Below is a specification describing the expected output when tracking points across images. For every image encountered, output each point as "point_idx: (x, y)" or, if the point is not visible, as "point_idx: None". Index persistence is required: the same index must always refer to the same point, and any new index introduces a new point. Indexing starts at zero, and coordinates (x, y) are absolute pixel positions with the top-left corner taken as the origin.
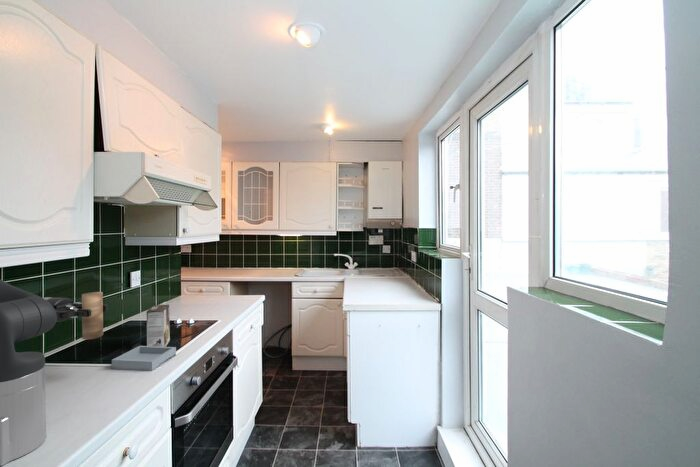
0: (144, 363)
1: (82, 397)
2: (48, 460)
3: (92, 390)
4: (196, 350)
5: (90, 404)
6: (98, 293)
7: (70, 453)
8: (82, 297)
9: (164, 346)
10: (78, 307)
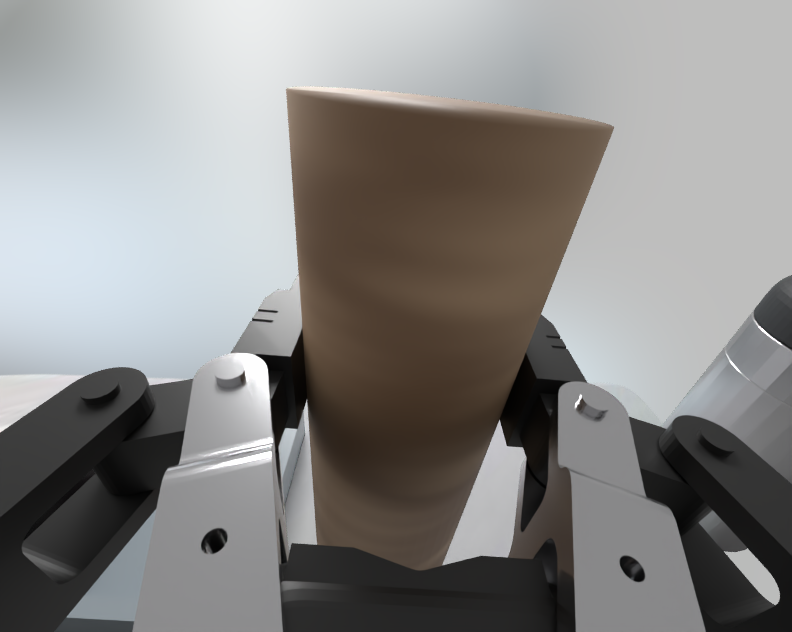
0: (295, 441)
1: (491, 540)
2: (645, 405)
3: None
4: (151, 379)
5: (509, 475)
6: (425, 96)
7: (616, 387)
8: (590, 179)
9: None
10: (419, 577)
